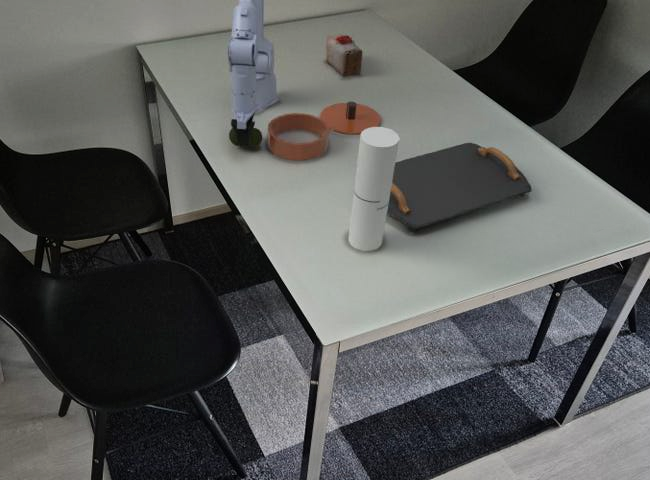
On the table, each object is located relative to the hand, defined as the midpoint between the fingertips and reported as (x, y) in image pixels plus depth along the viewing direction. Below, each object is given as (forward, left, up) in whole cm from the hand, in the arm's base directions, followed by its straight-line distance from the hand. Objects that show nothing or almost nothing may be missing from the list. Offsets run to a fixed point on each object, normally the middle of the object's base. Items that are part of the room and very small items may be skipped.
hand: (244, 140), depth 159 cm
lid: (-29, +12, -2) cm, 31 cm away
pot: (-10, +9, -2) cm, 14 cm away
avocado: (0, 0, -1) cm, 1 cm away
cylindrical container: (+10, +43, -3) cm, 44 cm away
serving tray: (-17, +47, -3) cm, 50 cm away
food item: (-54, -8, -3) cm, 55 cm away
